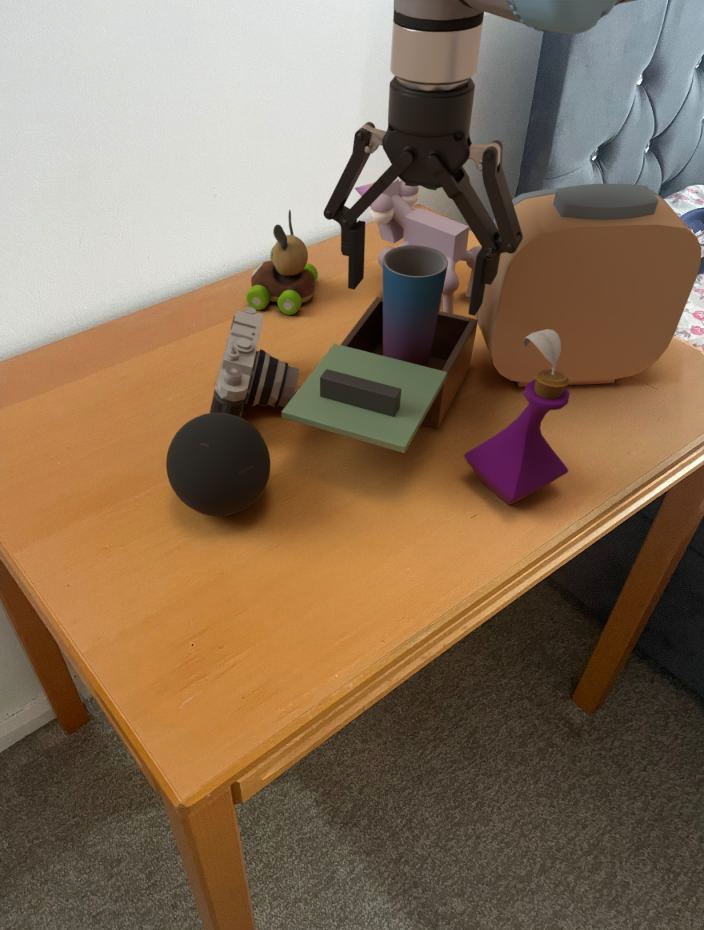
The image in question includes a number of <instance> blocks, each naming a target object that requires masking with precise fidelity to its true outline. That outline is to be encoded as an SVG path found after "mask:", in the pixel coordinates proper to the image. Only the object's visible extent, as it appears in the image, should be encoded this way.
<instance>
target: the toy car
mask: <svg viewBox="0 0 704 930" xmlns="http://www.w3.org/2000/svg"><path fill="white" fill-rule="evenodd" d="M287 215H288V228H289V234H286V232H285V230H284V229H283V227H282V226H281V224H279V223H278V224H276V225H274V227H273V230H272V234H273V237H274V238H275V240H276V242H275V244H274V246H272V247H271V250H270V253H269V254H270V255H269V256H270V257H269V258H270V260H266V261H263V262H261V263H259V264H258V265H257V266H256V267H255V268H254V270H253V272H252V274H251V280H250V282H251V283H250V285H251V287H250V288H249V290H248V291H247V293H246V296H245V299H246V303H247V305H248V306H250V307H253V308H254V309H256V311H262V310H264V309H265V308H267V306H268V305H269V304H270V302H273V303H277V307H278V309H279V310H280V312H281V313H283V314H284V315H287V316H292V315H295V314H296V313H297V312H298V311H299V310H300V308H301V306H302V303H306V302H308V301H310V299H311V298H313V296H314V294H315V287H316V286H315V283H316V282H317V280H318V277H319V275H318V274H319V272H318V269H317V268H316V267H315V266H314V265H313V264H312V263H309V262H308V260H309V252H308V248H307V245H306V244H305V243H304V241H303V240H302V239H301V238H299V237H298V236H296V235H295V234H294V229H293V225H292V211H291V209H289V210H288V214H287Z"/></svg>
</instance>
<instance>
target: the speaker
mask: <svg viewBox="0 0 704 930" xmlns="http://www.w3.org/2000/svg"><path fill="white" fill-rule="evenodd" d="M165 459H166V462H165V463H166V464H165V465H166V468H165V469H166V474H167V478H168V482H169V484H170V487H171V488H172V491H173V492H174V493H175V495H176V496H177V497H178V499H179V500H180V501H181V502H182V503H183V504H185V506H187V507H189V508H190V509H192V510H193V511H195V512H198V513H200V514H203V515H206V516H212V517H225V516H231V515H236V514H238V513H240V512H242V511H244V510H246V509H248V508H249V507H251V506H252V505H253V504H254V503H255V502H256V501H257V500H258V499H259V498H260V496H261V495H263V492H264V491H265V489H266V487H267V484H268V482H269V479H270V473H271V454H270V451H269V448H268V445H267V443H266V441H265V439H264V438H263V436H262V434H261V433H260V431H258V429H257V428H256V427H255V426H254V425H252V424H251V422H249V421H248V420H246V419H244V418H242V417H241V418H240V417H238V416H235V415H232V414H227V413H210V412H208V413H204V414H202V415H198V416H196V417H194V418H191V419H190V420H189V421H187V422H186V423H185V424H183V425H182V426H181V427H180V429H179V430H178V431H177V432H176V433H175V434H174V436H173V438H172V439H171V442H170V444H169V446H168V449H167V453H166V458H165Z"/></svg>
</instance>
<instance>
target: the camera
mask: <svg viewBox="0 0 704 930" xmlns="http://www.w3.org/2000/svg"><path fill="white" fill-rule="evenodd" d="M264 316H265V314H264V313H260V312H257V310H256V309H254V308H253V307H250V305H248V306H245V307H244V308H243V311H241V310H236V311H235V315H234V316H233V317H232V320H231V324H230V327H229V332H228V335H227V340H226V343H225V347H224V351H223V355H222V358H221V363H220V366H219V371H218V374H217V377H216V382H215V384H214V390H213V396H212V400H211V405H210V410H209V413H227V414H232V415H235V416H238V417H240V418H242V414H243V412H244V410H245V407H244V404H246V406H249V407H253V406H256V405H258V406H262V407H267V406H268V405H269V406H272V407H274V408H278V407H281V408H285V407H286V405H287V404H288V403H289V402H290V400H291V399H292V398H293V396H294V395H295V394H296V389H297V385H298V381H299V375H300V368H299V367H297V366H296V367H295V366H291V365H289V363H288V362H286V361H282V360H279V359H278V358H276V357H274V356H272V355H271V354H270V353H269V352H267V351H265V350H264V349H261V348H260V349H259V350H257V349H258V344H259V340H260V335H261V330H262V325H263V321H264Z"/></svg>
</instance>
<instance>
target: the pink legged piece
mask: <svg viewBox="0 0 704 930" xmlns="http://www.w3.org/2000/svg"><path fill="white" fill-rule="evenodd" d="M375 182H376V181H373V182H371V183H368V184H364V185H360V186H356V187H354V190H355V191H356V192H357V193H358V195H360V197H362V196H363V195H364V193H365V192H366V191H367V190H368V189H369V188H370V187H371V186H372V185H373V184H374V183H375ZM418 200H419V186H407V185H405V182H403V181H402V180H401V179H400V178H396V179H395V180H394V181H393V182H392V184H391V185H390V186H389V187H388V188H387V189H386V190H385V191H384V192H383V193H382V194H381V195H380V196H379V197H378V198H377V199H376V200H375V201H374V202H373V203H372V204H371V205H370V206H369V208H370V213H369V214H370V218H371V219H372V222H374V223H375V224H376V225H377V226H378V227H377V228H378V230H379V235H380V239H381V240H382V241H386V242H389V243H392V244H396V243H397V242H399V241H400V240H402V242H401V243H400V244H399V245H397V246H395V247H394V246H386V247H384V248H382V249H381V250H380V251H379V253H378V257H377V261H378V265H379V266H380V268H381V269H383V257H384V255H385V254H386V253H387V252H388V251H390V250H392V249H394V248H397V247H401V246H407V245H419V246H426V247H430V248H433V249H436V250H438V251H440V252H441V253H442V254H444V255H445V256H446V258H447V260H448V267H447V272H446V277H445V282H444V287H443V293H442V312H447V313H451V314H454V293H455V292H456V291H457V290H458V289H459V285H460V279H459V276H458V275H457V273H456V272H455V270H456V264H457V263H458V262H460V261H462V262H466V266H467V267H468V268H469V269H471V270H470V274H469V279H468V283H467V288H466V292H465V296H466V297H467V298H471V291H472V284H473V277H474V270H475V264H476V257H477V254H478V253H479V251H480V249H481V248H482V246H481V245H476V246H473V247H471V248H470V249H469V250H468V243H469V233H470V227H469V225H468V224H464V223H461V222H459V221H456V220H454V219H450V218H449V217H445V216H443V215H440V214H437V213H434V212H432V211H429V210H426V209H423V208H421V207H417V208H415V209H414V208H413V207H414V206H415V205H416V203H417V202H418Z"/></svg>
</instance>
